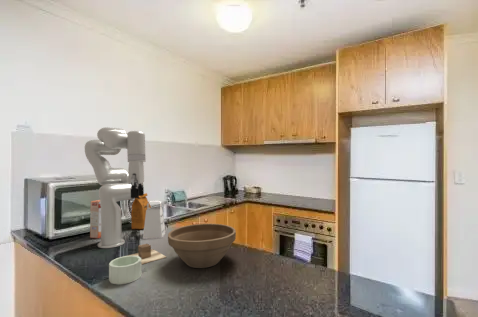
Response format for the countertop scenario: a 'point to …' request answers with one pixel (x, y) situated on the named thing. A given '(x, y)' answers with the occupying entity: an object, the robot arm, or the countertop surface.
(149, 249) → the lid
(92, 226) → the cracker box
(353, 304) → the countertop surface
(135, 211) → the coffee package
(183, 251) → the flower pot
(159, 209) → the grater
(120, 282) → the bowl
